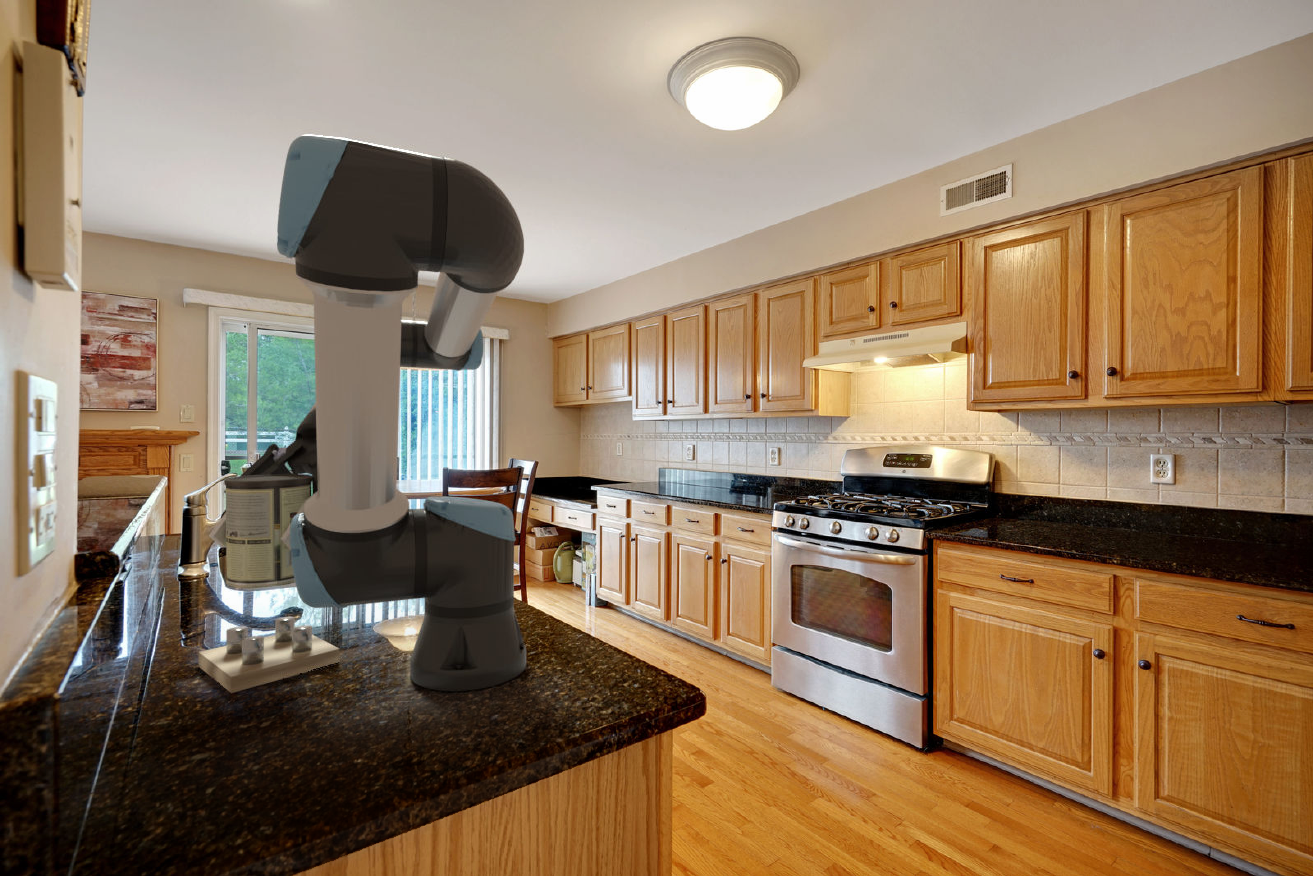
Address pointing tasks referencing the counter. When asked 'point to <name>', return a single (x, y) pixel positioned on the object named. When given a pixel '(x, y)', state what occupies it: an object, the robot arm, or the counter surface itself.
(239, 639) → the peg set
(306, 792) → the counter surface
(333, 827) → the counter surface
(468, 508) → the robot arm
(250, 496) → the coffee can
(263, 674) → the stand plate
